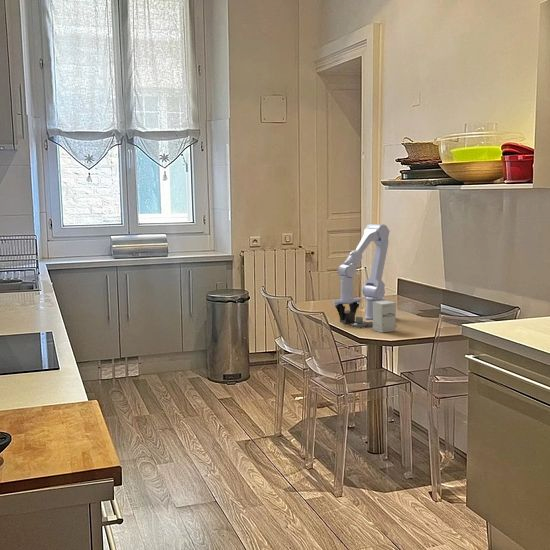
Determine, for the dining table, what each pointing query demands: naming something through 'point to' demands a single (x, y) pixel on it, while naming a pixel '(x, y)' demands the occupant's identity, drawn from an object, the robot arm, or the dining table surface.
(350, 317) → the dark grey cube
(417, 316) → the dining table surface
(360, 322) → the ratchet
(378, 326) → the supplement box
